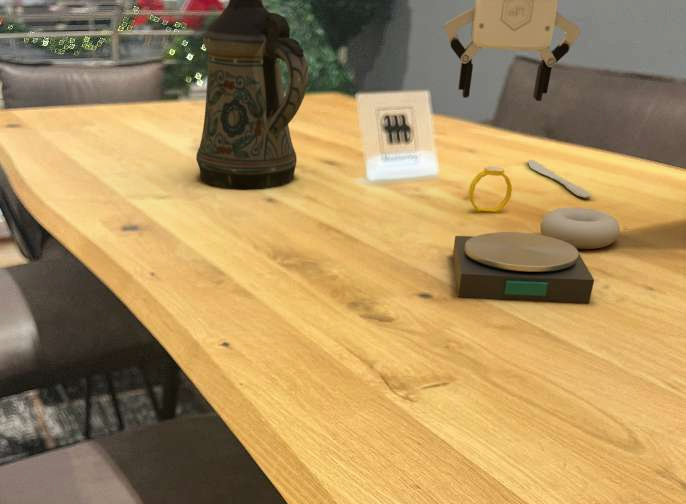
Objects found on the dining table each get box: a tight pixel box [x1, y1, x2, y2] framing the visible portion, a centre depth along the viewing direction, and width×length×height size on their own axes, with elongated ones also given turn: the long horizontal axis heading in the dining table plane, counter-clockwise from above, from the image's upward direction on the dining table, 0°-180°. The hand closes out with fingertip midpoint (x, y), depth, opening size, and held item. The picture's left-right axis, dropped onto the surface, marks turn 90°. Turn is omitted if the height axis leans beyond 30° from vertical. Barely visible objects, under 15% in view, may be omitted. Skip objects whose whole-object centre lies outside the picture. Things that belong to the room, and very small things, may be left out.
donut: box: [539, 207, 621, 250], centre depth 100 cm, size 10×4×10 cm
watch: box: [467, 165, 513, 213], centre depth 110 cm, size 6×3×6 cm, turn 94°
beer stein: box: [195, 0, 309, 190], centre depth 120 cm, size 16×19×25 cm
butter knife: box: [527, 159, 593, 199], centre depth 129 cm, size 1×27×3 cm
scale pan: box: [465, 231, 580, 272], centre depth 87 cm, size 13×13×1 cm
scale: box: [452, 235, 595, 304], centre depth 87 cm, size 14×14×3 cm
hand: (501, 97), depth 104 cm, fingers open, 9 cm apart
